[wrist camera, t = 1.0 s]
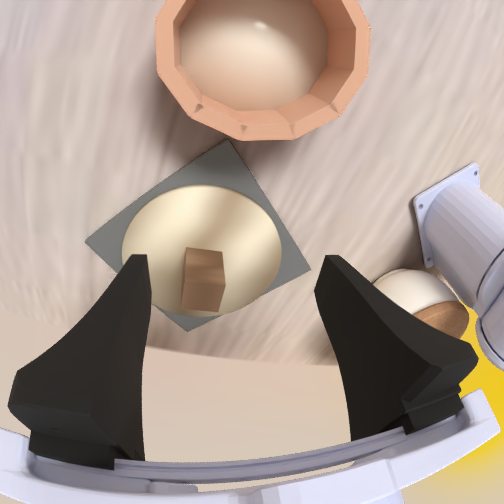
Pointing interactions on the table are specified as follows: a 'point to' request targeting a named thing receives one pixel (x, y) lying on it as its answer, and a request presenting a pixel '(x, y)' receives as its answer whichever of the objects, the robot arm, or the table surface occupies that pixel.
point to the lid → (205, 249)
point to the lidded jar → (425, 299)
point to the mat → (213, 173)
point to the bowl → (262, 62)
